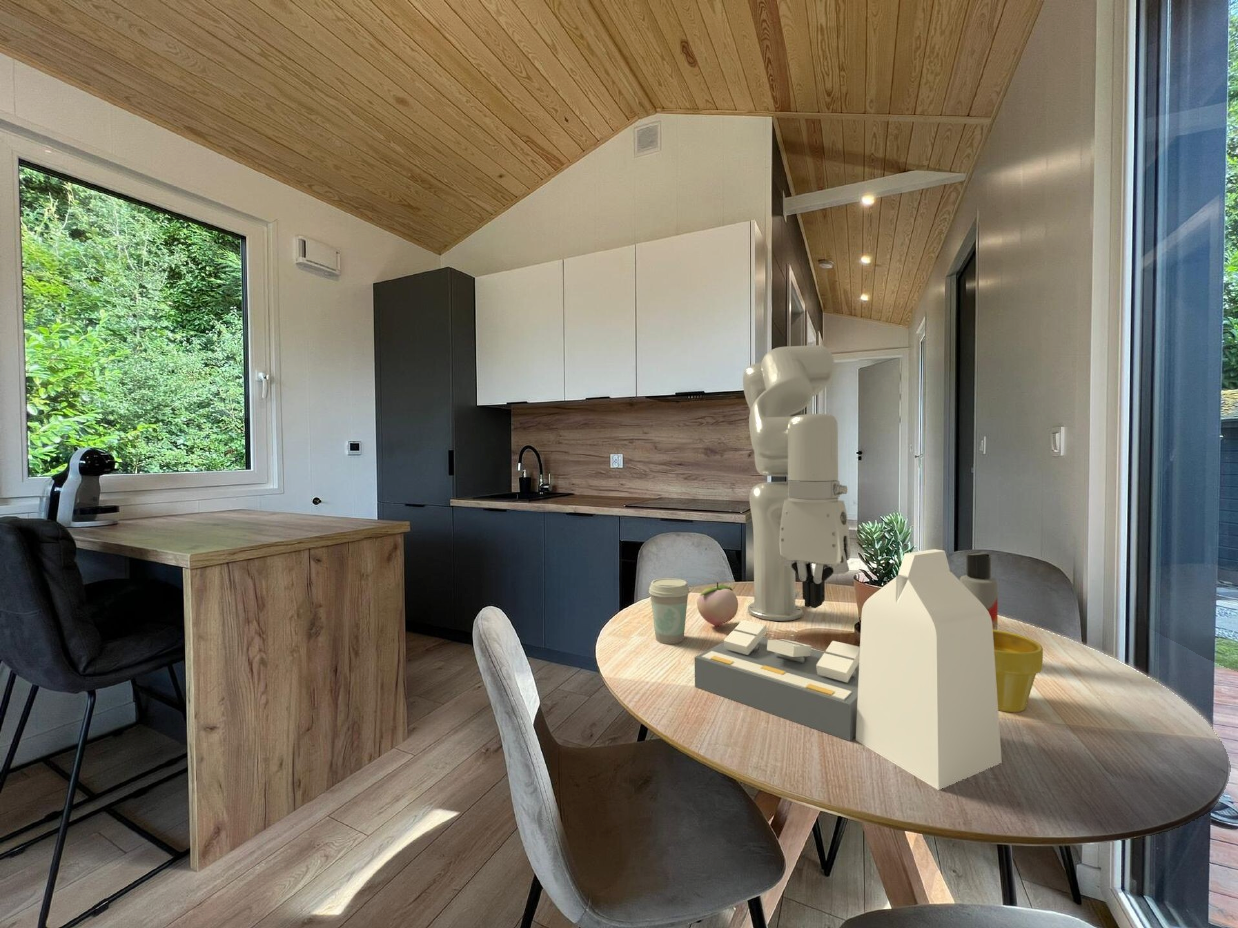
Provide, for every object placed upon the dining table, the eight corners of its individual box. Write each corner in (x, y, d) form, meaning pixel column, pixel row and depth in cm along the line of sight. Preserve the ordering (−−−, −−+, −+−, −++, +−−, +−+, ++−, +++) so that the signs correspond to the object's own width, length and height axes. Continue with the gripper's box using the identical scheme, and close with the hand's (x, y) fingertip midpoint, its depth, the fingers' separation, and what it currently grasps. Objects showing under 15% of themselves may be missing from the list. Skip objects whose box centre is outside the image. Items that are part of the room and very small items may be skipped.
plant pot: (1057, 723, 73) (1057, 655, 73) (972, 714, 76) (972, 648, 76) (1023, 691, 83) (1024, 630, 83) (950, 683, 86) (950, 625, 86)
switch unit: (742, 657, 98) (742, 625, 98) (885, 698, 82) (885, 659, 81) (694, 686, 87) (694, 650, 87) (849, 741, 70) (849, 696, 70)
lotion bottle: (992, 668, 92) (992, 556, 91) (955, 659, 96) (955, 552, 96) (1001, 660, 95) (1001, 552, 95) (965, 651, 100) (965, 548, 99)
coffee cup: (641, 639, 109) (640, 583, 108) (666, 629, 115) (665, 575, 115) (673, 650, 103) (673, 590, 103) (698, 638, 109) (697, 581, 109)
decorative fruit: (721, 637, 110) (720, 590, 109) (691, 627, 116) (690, 583, 115) (747, 626, 116) (746, 582, 116) (717, 618, 122) (717, 575, 122)
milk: (938, 790, 60) (937, 565, 59) (855, 740, 70) (854, 549, 70) (1001, 762, 65) (1001, 555, 64) (915, 719, 75) (914, 541, 74)
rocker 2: (785, 649, 89) (786, 638, 89) (810, 655, 86) (811, 644, 86) (766, 649, 84) (768, 638, 84) (793, 656, 81) (794, 645, 81)
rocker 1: (744, 627, 94) (742, 618, 94) (766, 632, 91) (765, 624, 91) (724, 648, 89) (723, 639, 89) (748, 655, 86) (746, 645, 86)
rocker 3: (833, 649, 83) (832, 639, 83) (862, 656, 80) (861, 646, 80) (817, 674, 79) (815, 664, 78) (847, 682, 76) (846, 672, 75)
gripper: (870, 492, 81) (870, 609, 81) (779, 488, 91) (780, 592, 91) (852, 495, 75) (853, 621, 75) (758, 491, 85) (759, 602, 86)
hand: (813, 605), depth 83 cm, fingers closed
